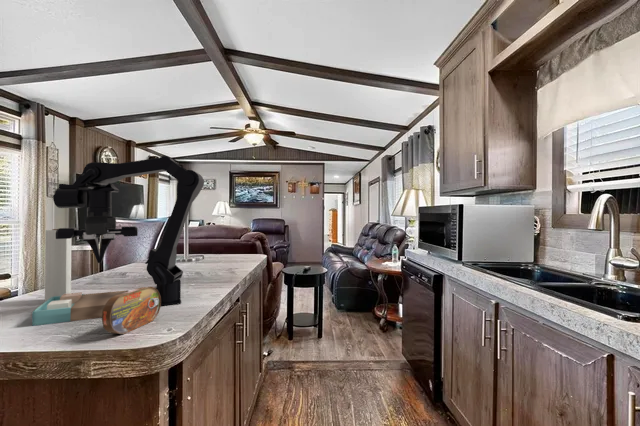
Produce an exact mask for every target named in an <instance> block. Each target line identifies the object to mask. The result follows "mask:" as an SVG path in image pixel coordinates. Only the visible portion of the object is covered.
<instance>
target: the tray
mask: <svg viewBox="0 0 640 426" xmlns="http://www.w3.org/2000/svg"><path fill="white" fill-rule="evenodd" d="M83 294H84V293H82V295H83ZM60 297H61V296H53V297H51V298H49V299H48V300H47V301H46V302H45V301H44V302H43V303H42V304H41V305H39V306H38V307H36V309H34V310H33V311H32V312H31V313H32V316H31V317H32V321H31V324H32V325H31V326H32V327H35V326H42V325H43V326H44V325H51V324H52V325H53V324H59V323H60V324H61V323H69V322H71V321H70V317H71V308H72V307H73V305H74V304H75V303H73V304H72V307H69V308H59V309H50V310H47V305H48V304H49V303H50V302H51V301H58V300H60Z"/></svg>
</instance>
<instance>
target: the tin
mask: <svg viewBox="0 0 640 426" xmlns="http://www.w3.org/2000/svg"><path fill="white" fill-rule="evenodd" d="M154 287H155V286H144V287H142V286H141V287H138V288H134V289H131V290H128V292H125V293H122V294H118V295H115V296H113V297H112V298H110V299H109V300H108V301H107V303H106V304H105V306H104V308H103V311H102V318H101V322H102V327H103V328H104V330H105V331H106V332H107V333H109V334H118V335H125V334H127V333H128V334H129V333H130V332H133V331H134V330H136V329H140V327H143V326H145V325H147V324H150V323H151V322H153V321H154V320H155V319H156V318H157V316H158V315H159V313H160V310H161V297H160V293H159V292H158V290H157V289H156V288H154Z"/></svg>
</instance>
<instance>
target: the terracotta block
mask: <svg viewBox="0 0 640 426" xmlns="http://www.w3.org/2000/svg"><path fill="white" fill-rule="evenodd" d="M82 294H83V292H82V291H81V292H73V293H72V292H71V293H69V294H63V295H62V296H61V297H60V300H69V299H72V304H73V303H76V302H77V301H78V300H79V299H80V298H81V296H82Z"/></svg>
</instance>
